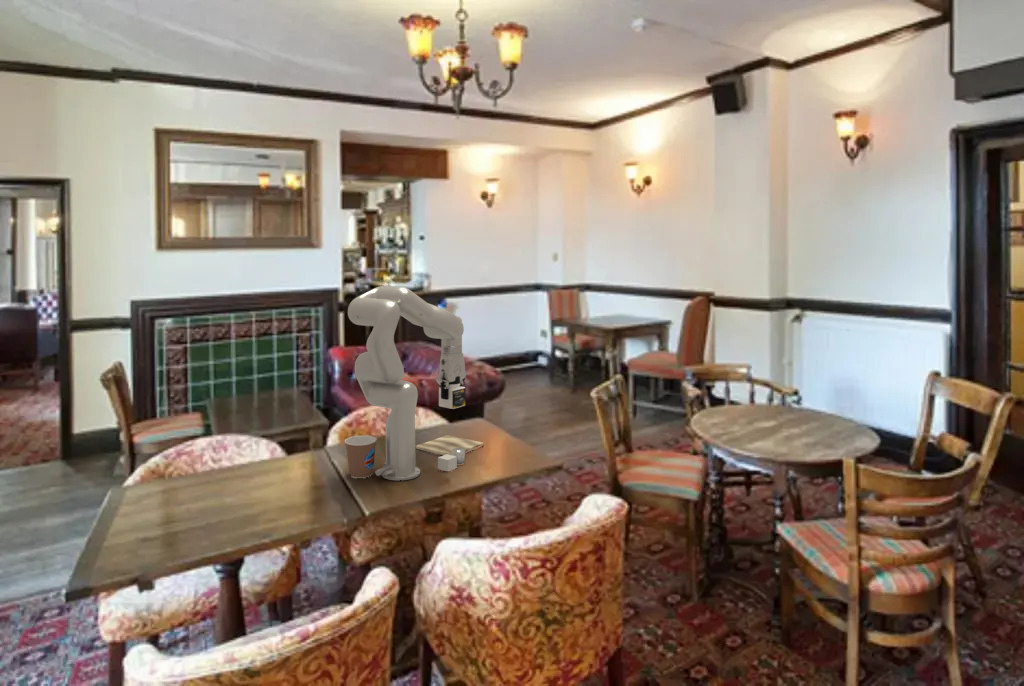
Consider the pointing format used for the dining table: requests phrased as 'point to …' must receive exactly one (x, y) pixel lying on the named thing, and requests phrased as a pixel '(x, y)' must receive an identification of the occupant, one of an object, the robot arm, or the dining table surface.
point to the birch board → (448, 444)
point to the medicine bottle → (453, 395)
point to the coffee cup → (361, 455)
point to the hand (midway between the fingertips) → (451, 396)
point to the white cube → (447, 462)
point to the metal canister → (459, 455)
